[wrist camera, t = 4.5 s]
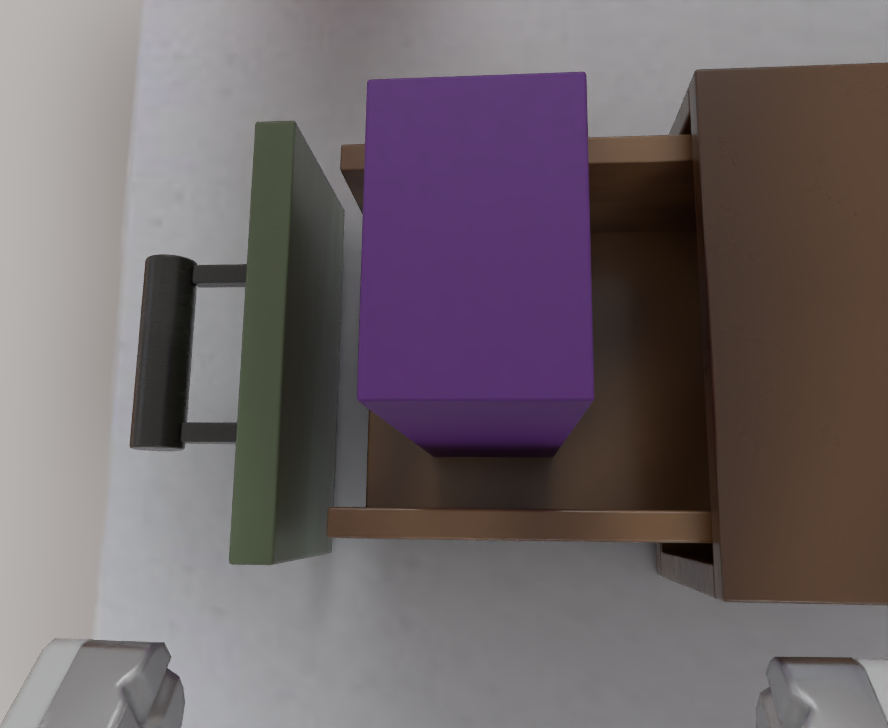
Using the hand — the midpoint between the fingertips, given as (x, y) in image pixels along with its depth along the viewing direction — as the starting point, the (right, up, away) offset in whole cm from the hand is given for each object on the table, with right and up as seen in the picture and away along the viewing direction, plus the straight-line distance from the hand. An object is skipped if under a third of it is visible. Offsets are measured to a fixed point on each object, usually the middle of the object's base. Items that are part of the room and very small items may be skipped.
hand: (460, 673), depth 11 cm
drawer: (0, +4, +17) cm, 17 cm away
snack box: (+1, +4, +16) cm, 16 cm away
